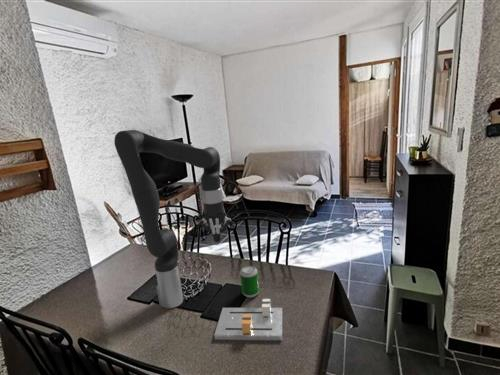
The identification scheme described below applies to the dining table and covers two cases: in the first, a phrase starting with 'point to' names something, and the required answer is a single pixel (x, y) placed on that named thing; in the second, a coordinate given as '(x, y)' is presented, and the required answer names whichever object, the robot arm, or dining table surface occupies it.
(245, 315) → the fader cap orange
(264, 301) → the fader cap cream
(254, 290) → the soda can
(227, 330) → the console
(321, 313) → the dining table surface
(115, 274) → the dining table surface
